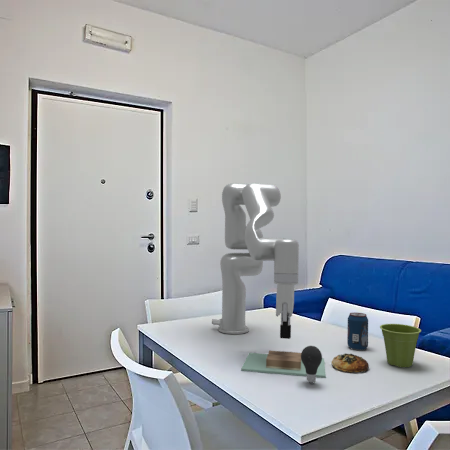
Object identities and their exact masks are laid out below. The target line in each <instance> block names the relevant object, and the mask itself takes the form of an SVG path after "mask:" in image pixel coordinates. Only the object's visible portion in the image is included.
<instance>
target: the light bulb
mask: <svg viewBox="0 0 450 450" xmlns="http://www.w3.org/2000/svg"><path fill="white" fill-rule="evenodd" d="M300 353H301V360H302V363H303V365H304V366H305V369H306V374H307V376H306V381H307V382H308V383H309V384H312V385H313V384H314V383H315V382H316V380H317V377H316V373H317V369H318V367H319V365H320V364H321V361H322V358H323V355H322V352H321V350H320V349H319V348H318V347H316V346H314V345H307V346H305V347H304V348H303V349H302V350H301V352H300Z"/></svg>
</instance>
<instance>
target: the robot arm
mask: <svg viewBox="0 0 450 450" xmlns="http://www.w3.org/2000/svg"><path fill="white" fill-rule="evenodd" d="M222 189H223V190H222V192H221V201H222V206H223V207H222V208H223V210H224V245H225V246H226V248H228V249H229V250H236V251H237V250H243V251H244V250H247V251H248V252H229V253H226V254H224V255H222V257H221V258H220V271H221V278H222V279H221V280H222V286H221V287H222V288H221V291H222V292H221V295H222V298H221V301H222V302H221V318H219V319H216V318H215V319H214V318H212V319H211V325H213V326H217V325H218V327H217V331H219V332H220V333H222V334H227V335H242V334H246V333H249V330H250V327H249V326H247V325H246V300H247V299H246V297H247V296H246V293H247V292H246V291H247V289H246V285H245V283H244V281H243V280H242V279H241V277H255V276H258V275H260V274H261V273H262V271H263V267H264V266H263V264H264V262H267V261H269V262H270V261H273V284H275V285H276V293H275V294H276V296H275V297H276V301H275V302H276V304H275V317H279V316H280V324H279V326H280V327H279V329H280V330H279V338H280V339H286V340H287V339H289V340H290V339H291V337H292V336H291V335H292V334H291V333H292V325H291V317H293V311H294V305H295V286H297V285H299V258H300V257H299V253H300V252H299V250H300V248H299V247H300V245H299V242H298V240H296V239H292V238H290V239H289V238H288V239H287V238H284V237H283V238H282V237H264V235H263V232H262V230H261V228H263V227H266V226H267V225H269V224H271V222H272V221H273V219H274V217H275V213H274V210H273V208H272V207H277V206H278V205H279V204H280V202H281V198H282V197H281V191H280V188H279V187H278V186H277V185H276V184H273V183H259V182H255V183H254V182H252V183H242V182H233V183H228V184H226V185H225V186H224V187H223V188H222ZM242 206H245V208H246V211H247V214H248V216H249V219H250V220H249V221H248V223H247V215H246V212H245V210H244V209H243V207H242Z"/></svg>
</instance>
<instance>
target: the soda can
mask: <svg viewBox="0 0 450 450" xmlns="http://www.w3.org/2000/svg"><path fill="white" fill-rule="evenodd" d="M367 315H368V314H366V313H364V312H350V313H349V315H348V317H347V346H348V347H349V349H350V350H354V351H366V350H367V348H368V346H369V318H368V316H367ZM365 349H366V350H365Z"/></svg>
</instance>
